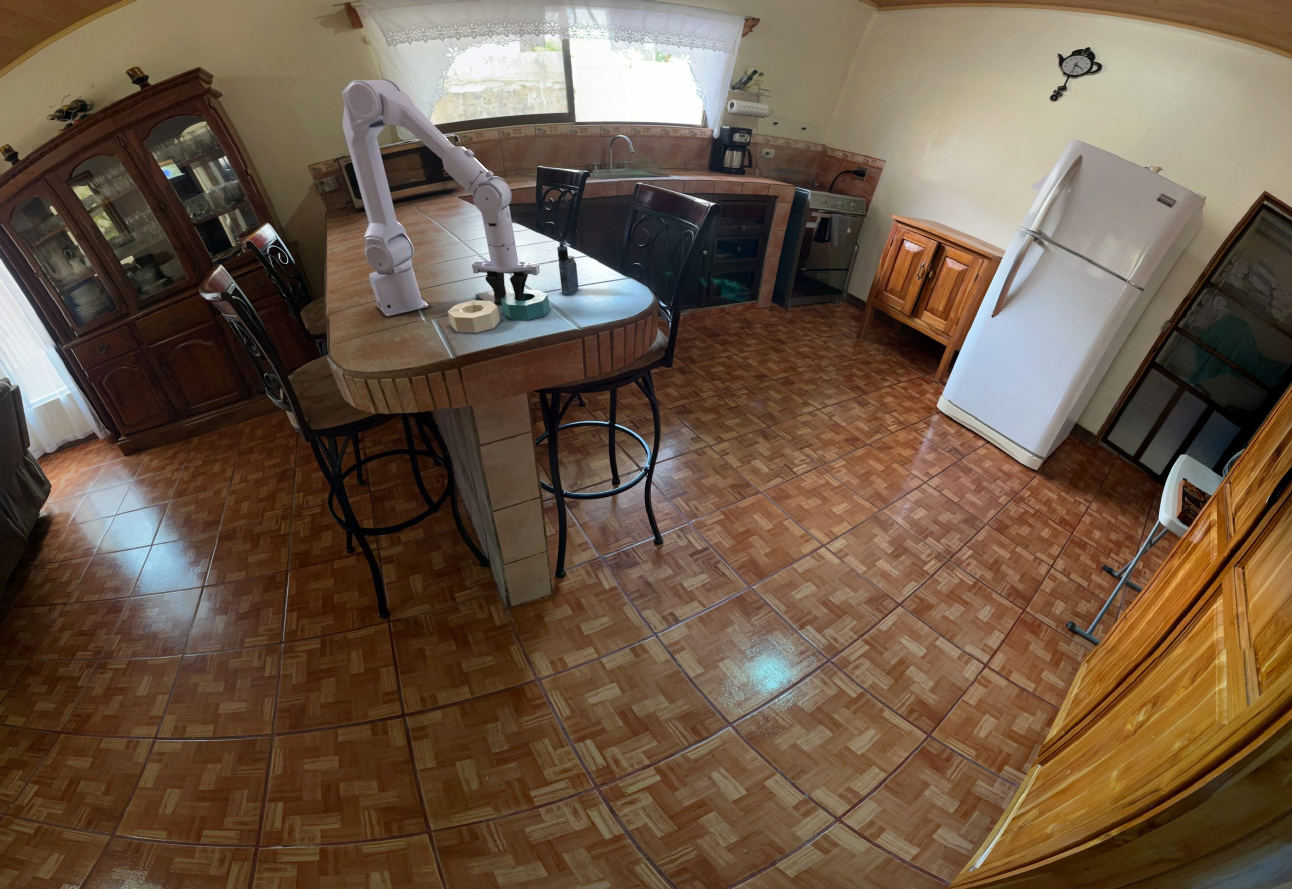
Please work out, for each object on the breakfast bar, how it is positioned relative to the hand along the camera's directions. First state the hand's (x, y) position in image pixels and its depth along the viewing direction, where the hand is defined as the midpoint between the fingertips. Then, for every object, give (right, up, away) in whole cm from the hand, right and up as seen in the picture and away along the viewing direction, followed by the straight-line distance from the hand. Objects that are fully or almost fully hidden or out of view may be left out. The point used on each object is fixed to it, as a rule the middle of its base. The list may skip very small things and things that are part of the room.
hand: (512, 305), depth 115 cm
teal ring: (+3, -1, 0) cm, 3 cm away
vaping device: (+12, +6, +10) cm, 17 cm away
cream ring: (-7, -5, -5) cm, 10 cm away
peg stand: (-5, +3, +7) cm, 10 cm away
